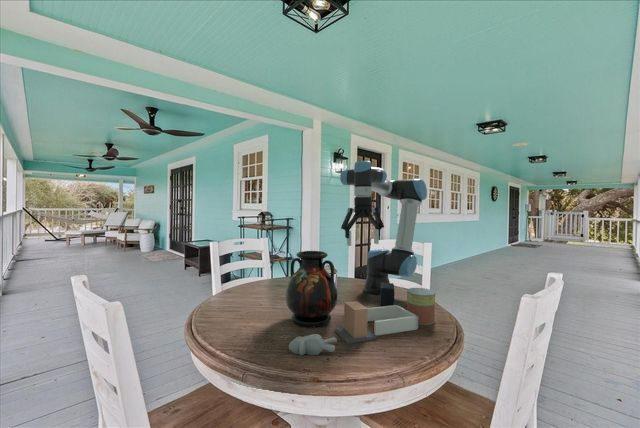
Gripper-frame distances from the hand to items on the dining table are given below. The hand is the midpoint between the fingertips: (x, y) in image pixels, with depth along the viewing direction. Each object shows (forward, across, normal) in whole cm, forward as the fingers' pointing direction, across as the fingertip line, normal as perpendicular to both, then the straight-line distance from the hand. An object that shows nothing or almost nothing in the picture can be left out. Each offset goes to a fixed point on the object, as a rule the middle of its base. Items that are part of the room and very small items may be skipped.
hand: (362, 244), depth 134 cm
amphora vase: (+30, -25, -2) cm, 39 cm away
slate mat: (+30, -15, -21) cm, 39 cm away
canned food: (+31, +18, -16) cm, 39 cm away
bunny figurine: (+29, -34, -28) cm, 52 cm away
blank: (+29, -15, -21) cm, 38 cm away
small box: (+31, +14, +2) cm, 34 cm away
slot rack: (+30, +2, -17) cm, 34 cm away
